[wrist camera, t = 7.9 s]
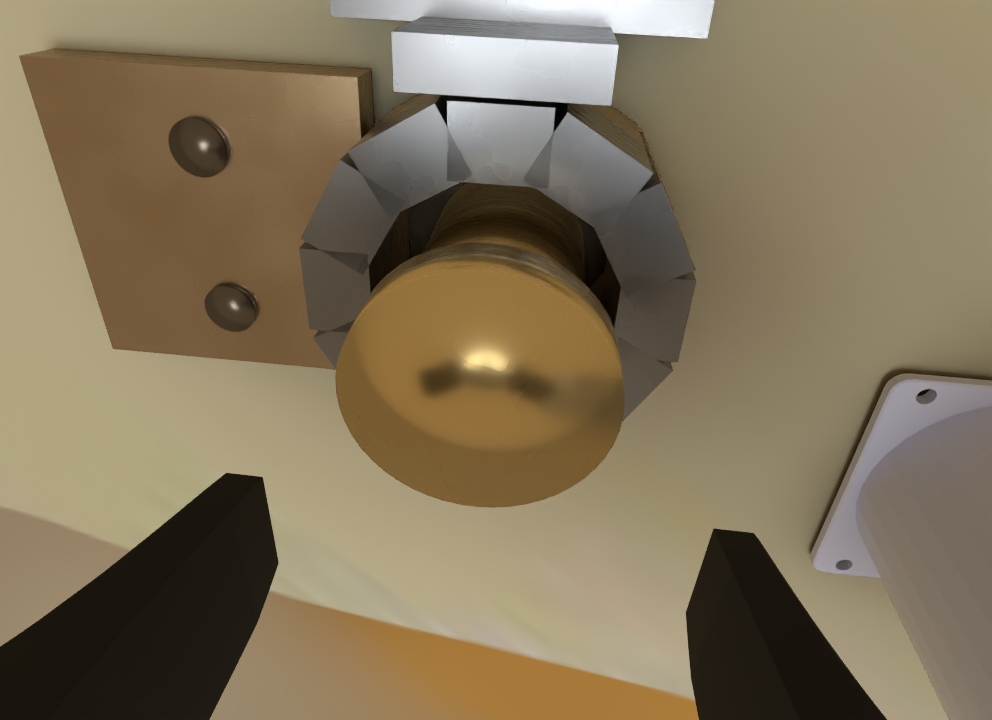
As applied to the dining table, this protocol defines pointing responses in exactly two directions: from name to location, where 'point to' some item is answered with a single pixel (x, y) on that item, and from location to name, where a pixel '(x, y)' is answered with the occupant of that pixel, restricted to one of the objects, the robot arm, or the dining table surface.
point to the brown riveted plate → (208, 191)
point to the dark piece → (511, 156)
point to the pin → (486, 357)
